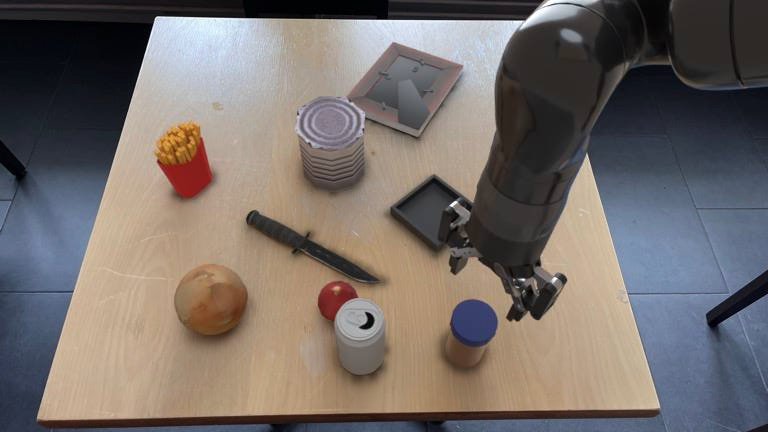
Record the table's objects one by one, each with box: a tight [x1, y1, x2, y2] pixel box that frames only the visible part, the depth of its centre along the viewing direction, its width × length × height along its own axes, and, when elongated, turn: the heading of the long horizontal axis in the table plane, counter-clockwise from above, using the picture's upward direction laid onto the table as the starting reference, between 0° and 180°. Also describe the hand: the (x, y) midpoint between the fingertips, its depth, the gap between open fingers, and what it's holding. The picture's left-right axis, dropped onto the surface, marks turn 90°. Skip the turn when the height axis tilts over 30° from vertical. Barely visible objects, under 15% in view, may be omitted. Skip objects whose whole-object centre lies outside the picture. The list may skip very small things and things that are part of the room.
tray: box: [389, 173, 473, 254], centre depth 87 cm, size 11×11×2 cm
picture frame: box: [346, 41, 464, 138], centre depth 105 cm, size 16×2×22 cm
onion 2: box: [317, 280, 359, 323], centre depth 74 cm, size 6×6×8 cm
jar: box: [444, 328, 487, 369], centre depth 70 cm, size 5×5×10 cm
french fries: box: [152, 119, 213, 199], centre depth 86 cm, size 8×4×12 cm, turn 145°
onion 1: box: [173, 263, 249, 336], centre depth 73 cm, size 10×10×10 cm
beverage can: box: [333, 297, 387, 376], centre depth 69 cm, size 6×6×12 cm
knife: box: [245, 209, 382, 283], centre depth 83 cm, size 24×5×3 cm, turn 55°
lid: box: [449, 298, 499, 348], centre depth 67 cm, size 6×6×2 cm
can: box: [294, 95, 366, 194], centre depth 89 cm, size 11×11×12 cm
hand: (484, 291), depth 59 cm, fingers open, 7 cm apart
